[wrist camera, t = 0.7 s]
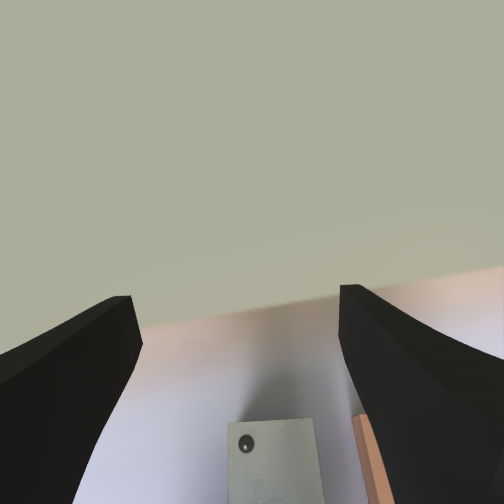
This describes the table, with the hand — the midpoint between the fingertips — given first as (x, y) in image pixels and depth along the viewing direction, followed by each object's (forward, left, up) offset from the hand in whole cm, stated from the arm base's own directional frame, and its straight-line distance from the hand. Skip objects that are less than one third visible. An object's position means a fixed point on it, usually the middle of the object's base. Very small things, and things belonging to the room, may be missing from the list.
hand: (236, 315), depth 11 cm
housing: (-6, -1, -15) cm, 16 cm away
